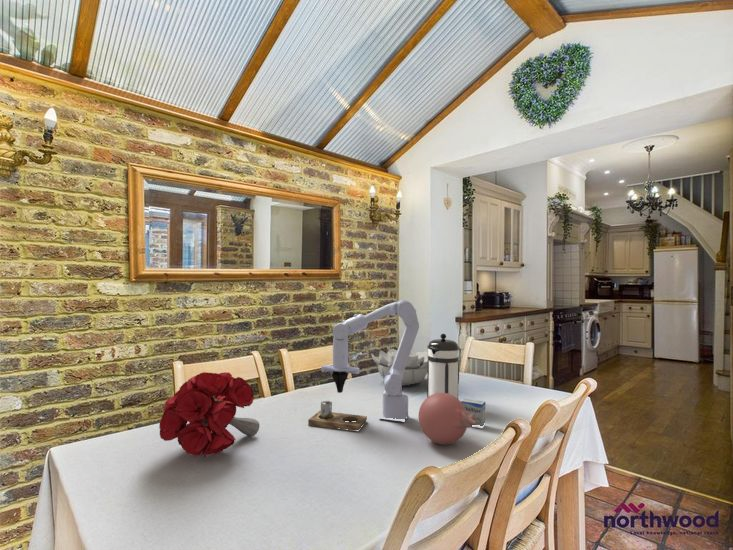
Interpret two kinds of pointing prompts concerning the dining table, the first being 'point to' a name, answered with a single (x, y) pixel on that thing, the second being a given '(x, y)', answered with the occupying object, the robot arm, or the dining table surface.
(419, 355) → the decorative bowl
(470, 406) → the medicine box
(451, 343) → the coffee press
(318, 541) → the dining table surface
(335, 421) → the jig plate
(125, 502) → the dining table surface
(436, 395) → the balloon
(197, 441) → the bouquet
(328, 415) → the bushing
